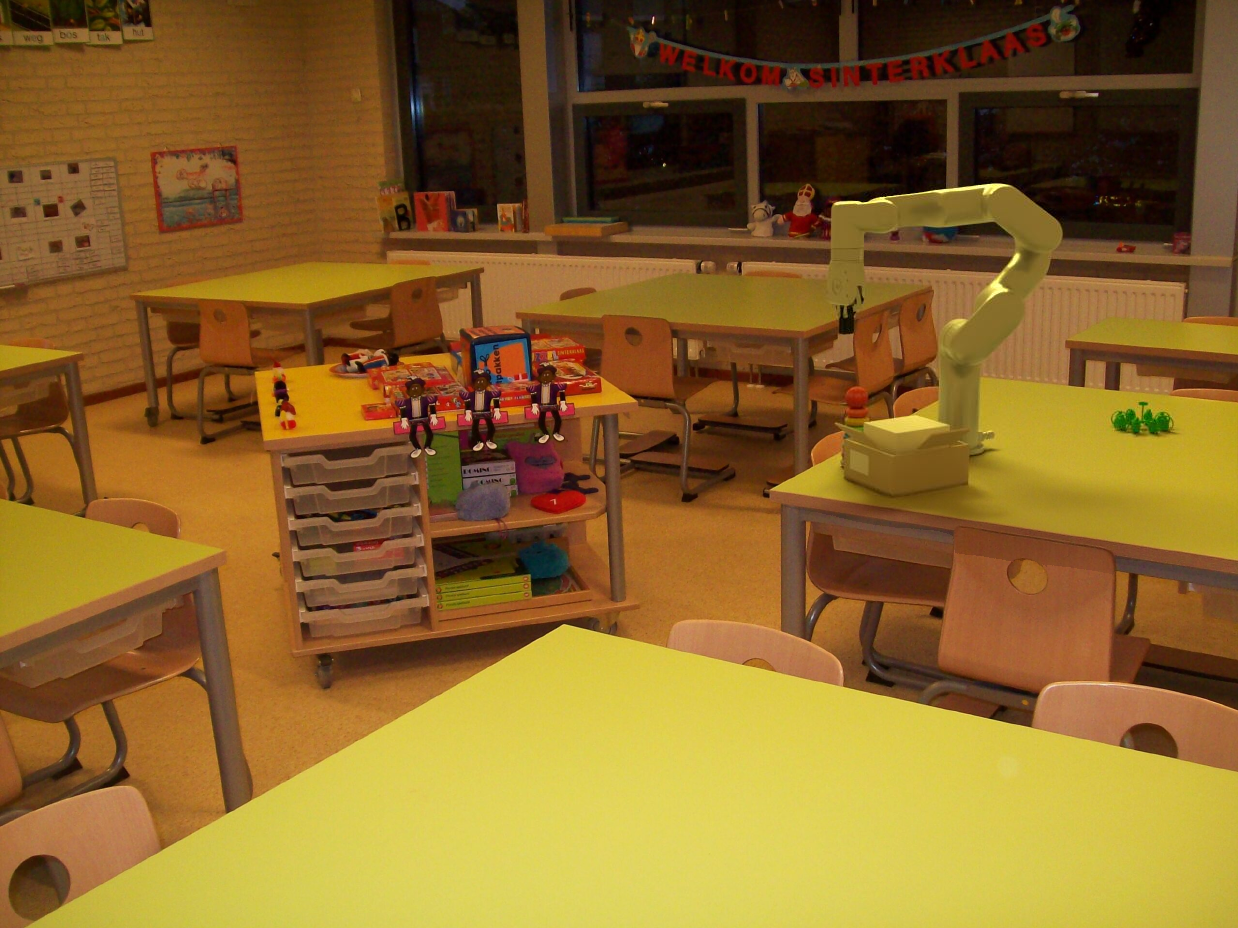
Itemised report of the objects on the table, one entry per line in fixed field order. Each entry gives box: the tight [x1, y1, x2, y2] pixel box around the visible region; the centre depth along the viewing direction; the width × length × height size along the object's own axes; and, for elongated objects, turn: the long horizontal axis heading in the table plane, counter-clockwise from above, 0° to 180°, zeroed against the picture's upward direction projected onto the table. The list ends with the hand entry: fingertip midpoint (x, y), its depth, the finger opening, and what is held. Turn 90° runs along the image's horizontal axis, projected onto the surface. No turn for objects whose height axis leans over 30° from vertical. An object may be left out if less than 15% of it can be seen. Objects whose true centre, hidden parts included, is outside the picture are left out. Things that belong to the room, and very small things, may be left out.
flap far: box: [834, 421, 882, 450], centre depth 263 cm, size 10×7×1 cm
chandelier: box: [1110, 401, 1175, 435], centre depth 309 cm, size 15×15×7 cm
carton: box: [843, 414, 970, 498], centre depth 269 cm, size 21×19×13 cm
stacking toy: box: [840, 386, 870, 468], centre depth 282 cm, size 8×8×19 cm
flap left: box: [916, 427, 971, 450], centre depth 258 cm, size 10×7×1 cm
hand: (846, 333), depth 289 cm, fingers closed
